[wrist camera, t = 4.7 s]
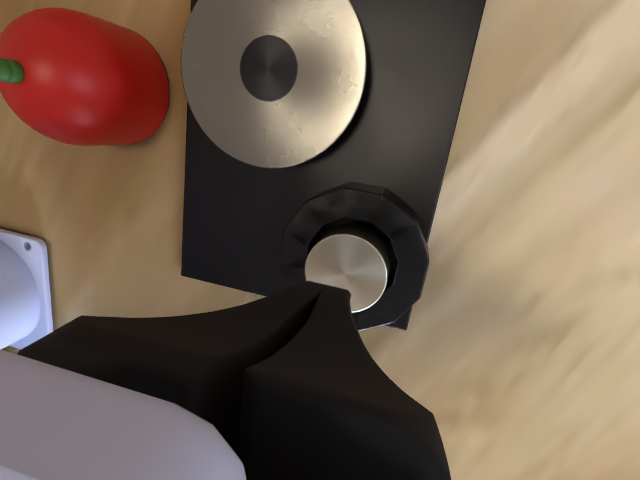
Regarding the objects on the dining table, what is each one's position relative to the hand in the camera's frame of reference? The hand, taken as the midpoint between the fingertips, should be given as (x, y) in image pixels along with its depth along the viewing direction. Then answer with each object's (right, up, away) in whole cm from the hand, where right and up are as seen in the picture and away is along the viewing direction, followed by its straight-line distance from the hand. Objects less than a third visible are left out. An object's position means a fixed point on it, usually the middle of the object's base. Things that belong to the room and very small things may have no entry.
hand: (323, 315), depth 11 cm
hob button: (+1, +1, +5) cm, 5 cm away
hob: (0, +7, +6) cm, 9 cm away
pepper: (-10, +10, +8) cm, 16 cm away
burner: (-2, +9, +4) cm, 10 cm away
